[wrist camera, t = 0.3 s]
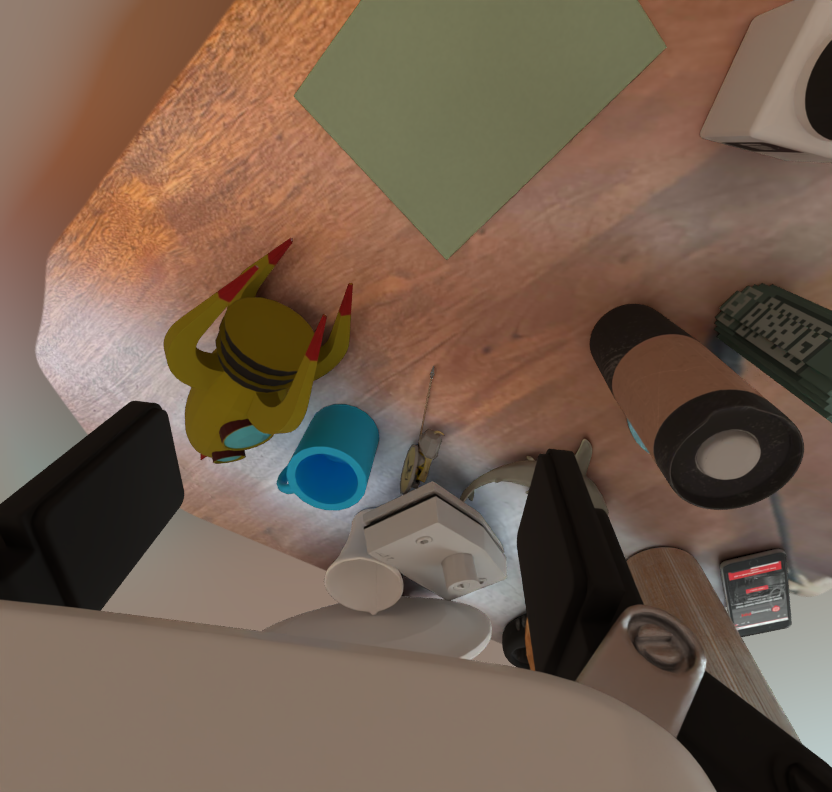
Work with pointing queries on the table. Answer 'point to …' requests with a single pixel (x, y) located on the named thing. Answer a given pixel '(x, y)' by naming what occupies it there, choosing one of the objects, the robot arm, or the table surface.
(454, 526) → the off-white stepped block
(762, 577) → the smartphone
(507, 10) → the mat
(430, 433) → the toy
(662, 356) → the travel mug
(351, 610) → the plate
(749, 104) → the container
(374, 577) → the cup
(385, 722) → the robot arm
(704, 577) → the planter
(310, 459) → the mug
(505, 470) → the shark figurine
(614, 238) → the table surface
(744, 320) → the can
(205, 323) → the toy rocket
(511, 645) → the controller
